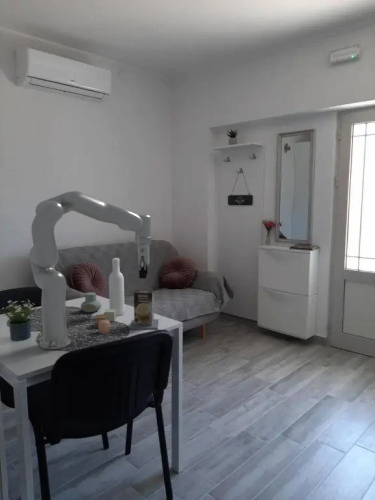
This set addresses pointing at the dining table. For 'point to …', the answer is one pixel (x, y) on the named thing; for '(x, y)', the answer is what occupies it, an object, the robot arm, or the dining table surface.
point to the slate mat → (144, 326)
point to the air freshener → (90, 303)
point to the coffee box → (144, 307)
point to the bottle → (116, 288)
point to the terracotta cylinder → (104, 326)
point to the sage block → (110, 314)
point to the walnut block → (99, 319)
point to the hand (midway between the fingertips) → (143, 276)
